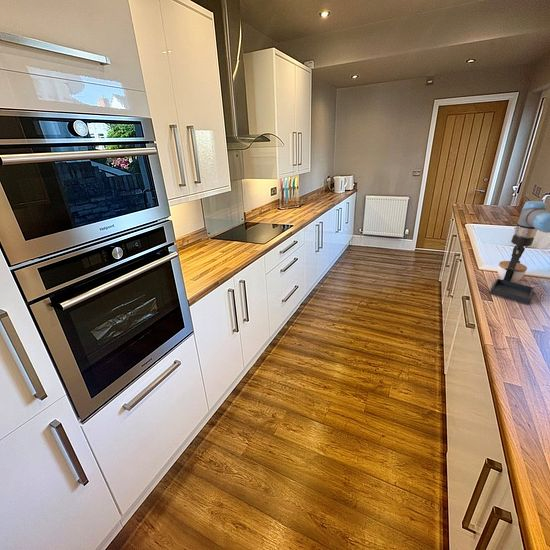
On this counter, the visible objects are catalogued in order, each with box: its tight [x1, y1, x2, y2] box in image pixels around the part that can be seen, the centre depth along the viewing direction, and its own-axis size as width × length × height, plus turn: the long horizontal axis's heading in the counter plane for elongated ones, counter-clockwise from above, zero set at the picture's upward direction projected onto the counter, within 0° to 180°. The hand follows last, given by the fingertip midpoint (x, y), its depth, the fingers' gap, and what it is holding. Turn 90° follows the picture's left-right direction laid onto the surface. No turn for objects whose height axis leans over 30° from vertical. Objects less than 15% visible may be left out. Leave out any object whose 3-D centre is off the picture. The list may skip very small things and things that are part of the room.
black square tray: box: [489, 278, 535, 305], centre depth 130 cm, size 14×14×2 cm
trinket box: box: [497, 260, 528, 283], centre depth 140 cm, size 11×11×9 cm
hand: (508, 278), depth 142 cm, fingers closed on trinket box, 11 cm apart
